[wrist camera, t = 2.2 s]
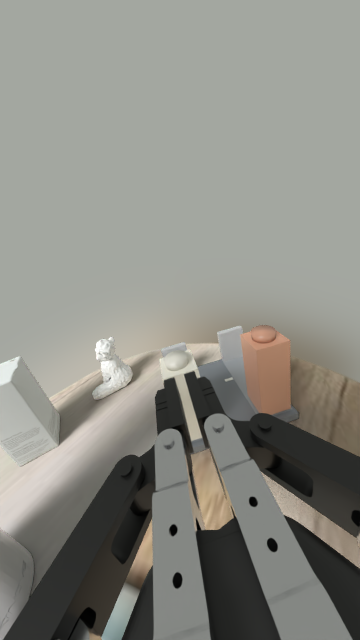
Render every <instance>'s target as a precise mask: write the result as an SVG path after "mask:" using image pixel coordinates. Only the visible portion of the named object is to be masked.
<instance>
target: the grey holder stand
mask: <svg viewBox="0 0 360 640" xmlns="http://www.w3.org/2000/svg"><path fill="white" fill-rule="evenodd" d="M240 334H243V331H242V327H241V326H237V327H234V328H230V329H226V330H223V331H220V332H217V335H218V341H219V346H220V352H221V357H222V359H221V360H218V361H214V362H211V363H208V364H205V365H201V366H198V370H199V374H200V377H203V376H205V377H206V378H207V379H209V380H210V382H211V384H212V386H213V388H214V390H215V393H216V395H217V397H218V399H219V401H220V403H221V405H222V408H223V410H224V412H225V413H226V415H227V416H228V417H230V418H232V419H234V420H238V421H250V419H251V418H252V416H254V415H255V414H258V413H259V412H258V410H257V409H256V407H255V406H254V404H253V403H252V401H251V400H250V398H249V397H248V393H247V385H246V377H245V369H244V361H243V353H242V345H241V337H240ZM176 350H182V351H187V348H186V344H185V342H183V343H179V344H176V345H173V346H169V347H166V348H162V349H161V352H162V355H163V357H165V356H166V355H167V354H168V353H170V352H172V351H176ZM272 416H274V417H276V418H278V419H281V420H283V421H285V422H290V421H293V420H296V419H299V412H298V411H297V410H296V409H295V408H294V407H293V406H292V405H291V409H288V410H285V411H281V412H278V413H275V414H272ZM191 442H192V446H193V450H194V453H197V452H200V451H203V450H206V449H209V448H205V445H204V442H203V438H199V439H196V440H193V441H191ZM194 453H191V454H194ZM191 454H190V455H191Z"/></svg>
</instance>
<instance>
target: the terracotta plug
mask: <svg viewBox="0 0 360 640" xmlns="http://www.w3.org/2000/svg"><path fill="white" fill-rule="evenodd" d="M240 337H241V345H242V353H243V361H244V369H245V377H246V385H247V393H248V397H249V398H250V400H251V401H252V403H253V404H254V406H255V407H256V409H257V410H258V412H259V413H267V414H270V415H272V414H275V413H278V412H281V411H285V410H288V409H291V389H290V340H289V339H288V338H286V337H285V336H283V335H282V334H280V333H279V332H277V331H276V330H275V328H273V327H271V326H267V325H260V326H256V327H254V328H253V329H252V330H251V332H247V333H244V334H240Z"/></svg>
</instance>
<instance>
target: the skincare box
mask: <svg viewBox="0 0 360 640" xmlns="http://www.w3.org/2000/svg"><path fill="white" fill-rule="evenodd" d="M59 430H60V415H59V413H58V412H57V410H56V409H55V407H54V406H53V404H52V403H51V401H50V400H49V398H48V397H47V395H46V394H45V392H44V391H43V389H42V388H41V386H40V385H39V383H38V382H37V380H36V379H35V377H34V376H33V374H32V373H31V371H30V370H29V368H28V367H27V365H26V364H25V362H24V360H23V359H22V357H21V356H19V357H17V358H14V359H12V360H9V361H6V362H4V363H1V364H0V446H1V447H2V448H3V449H4V451H5V452H6V453H7V454H8V455H9V456H10V457H11V458H12V459H13V460H14V461H15V463H16V464H17V465H18V466H19V467H21V466H23V465H25V464H26V463H28V462H30V461H32V460H34V459H35V458H37V457H39V456H41V455H43V454H45V453H46V452H48V451H50V450H52V449H54V448H55V447H57V446H58V445H59Z"/></svg>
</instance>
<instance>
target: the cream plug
mask: <svg viewBox="0 0 360 640" xmlns="http://www.w3.org/2000/svg"><path fill="white" fill-rule="evenodd" d="M159 361H160V368H161V376H162V381H163V384H164V380H166V379H169V378H173V377H175V380H176V384H177V387H178V390H179V393H180V397H181V400H182V404H183V408H184V412H185V417H186V421H187V425H188V429H189V433H190V438H191V441H193V440H196V439H199V438H202V435H201V432H200V428H199V425H198V421H197V418H196V415H195V411H194V408H193V405H192V401H191V398H190V394H189V391H188V387H187V384H186V380H185V377H184V374H186V373H189V372H192V371H194V372H195V374H196V377H197V378H200V374H199V370H198V367H197V365H196V362H195V360H194V358H193V355H192V353H191V351H190V350H187V351H182V350H176V351H172V352H170V353H168V354H167V355H166V356H165V357H163V358H160V359H159Z"/></svg>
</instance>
